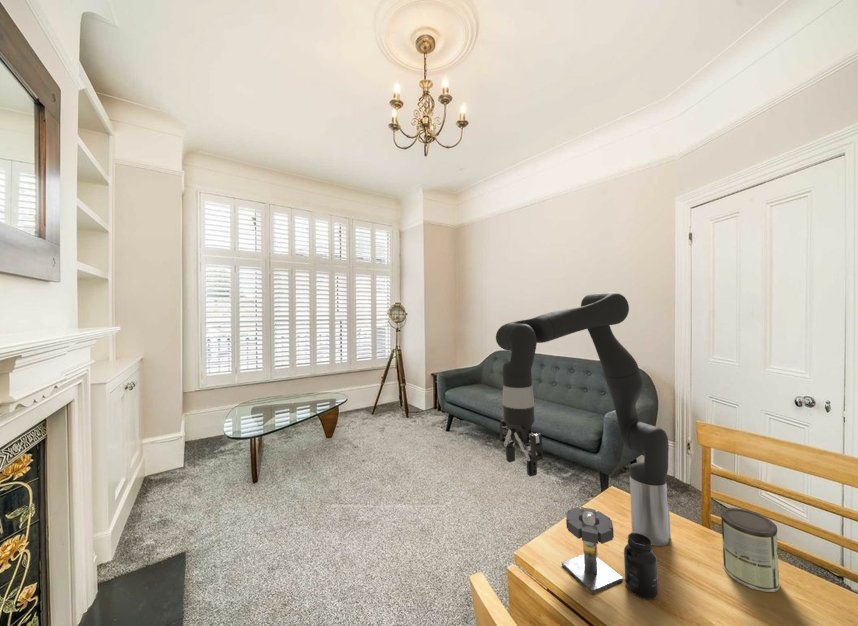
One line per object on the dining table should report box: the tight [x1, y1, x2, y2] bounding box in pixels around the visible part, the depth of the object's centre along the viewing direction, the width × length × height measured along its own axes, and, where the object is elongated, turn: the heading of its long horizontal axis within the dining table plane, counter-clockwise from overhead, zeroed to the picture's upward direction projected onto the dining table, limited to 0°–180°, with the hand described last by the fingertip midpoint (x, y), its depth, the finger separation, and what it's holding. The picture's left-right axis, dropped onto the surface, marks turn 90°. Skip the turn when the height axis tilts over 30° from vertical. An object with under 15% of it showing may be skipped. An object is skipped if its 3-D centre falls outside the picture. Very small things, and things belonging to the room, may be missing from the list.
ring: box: [565, 506, 615, 545], centre depth 86 cm, size 11×11×2 cm
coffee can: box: [719, 507, 781, 593], centre depth 83 cm, size 10×10×14 cm
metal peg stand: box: [561, 511, 624, 595], centre depth 86 cm, size 10×10×15 cm
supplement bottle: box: [623, 532, 659, 600], centre depth 81 cm, size 7×7×12 cm
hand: (520, 468), depth 83 cm, fingers open, 8 cm apart
